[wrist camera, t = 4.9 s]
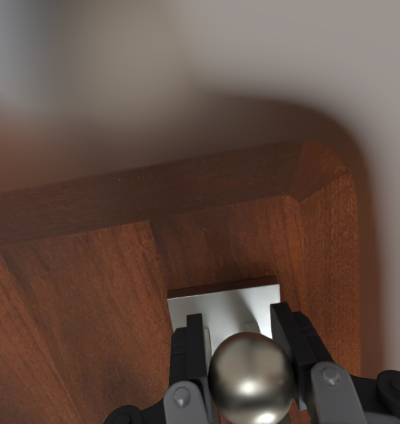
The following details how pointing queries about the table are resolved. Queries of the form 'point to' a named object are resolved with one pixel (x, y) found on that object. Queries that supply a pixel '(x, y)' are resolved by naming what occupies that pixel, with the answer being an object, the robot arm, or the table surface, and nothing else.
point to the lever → (251, 379)
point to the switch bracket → (227, 313)
